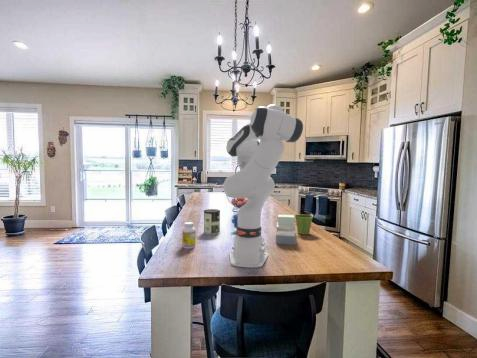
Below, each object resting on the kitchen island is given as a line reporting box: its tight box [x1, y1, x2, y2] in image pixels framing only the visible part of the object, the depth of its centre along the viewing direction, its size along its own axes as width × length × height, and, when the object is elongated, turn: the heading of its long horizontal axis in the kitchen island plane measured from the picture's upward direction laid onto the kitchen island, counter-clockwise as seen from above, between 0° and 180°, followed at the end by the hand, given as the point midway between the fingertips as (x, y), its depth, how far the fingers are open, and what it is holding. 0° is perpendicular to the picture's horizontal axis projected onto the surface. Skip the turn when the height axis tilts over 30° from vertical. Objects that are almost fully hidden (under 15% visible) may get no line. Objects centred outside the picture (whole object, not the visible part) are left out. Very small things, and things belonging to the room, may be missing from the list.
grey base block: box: [275, 230, 298, 246], centre depth 153 cm, size 11×11×5 cm
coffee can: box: [203, 208, 221, 236], centre depth 169 cm, size 10×10×14 cm
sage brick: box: [277, 214, 296, 227], centre depth 152 cm, size 6×9×5 cm, turn 85°
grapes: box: [231, 212, 238, 228], centre depth 174 cm, size 12×7×12 cm, turn 98°
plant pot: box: [293, 213, 314, 235], centre depth 170 cm, size 12×12×11 cm
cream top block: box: [275, 221, 296, 236], centre depth 152 cm, size 10×10×5 cm
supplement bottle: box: [181, 221, 196, 250], centre depth 140 cm, size 7×7×13 cm
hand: (244, 185), depth 158 cm, fingers open, 8 cm apart
